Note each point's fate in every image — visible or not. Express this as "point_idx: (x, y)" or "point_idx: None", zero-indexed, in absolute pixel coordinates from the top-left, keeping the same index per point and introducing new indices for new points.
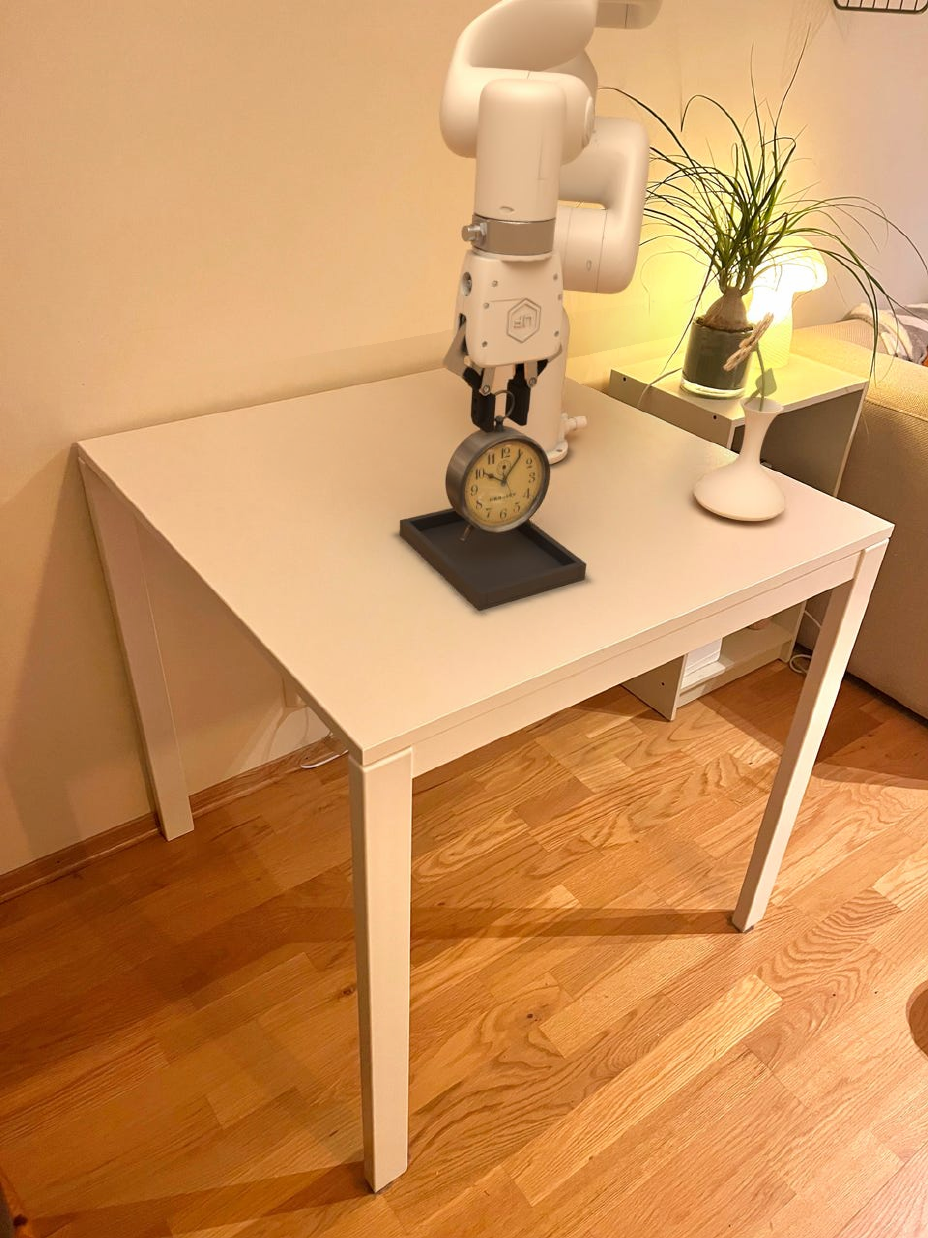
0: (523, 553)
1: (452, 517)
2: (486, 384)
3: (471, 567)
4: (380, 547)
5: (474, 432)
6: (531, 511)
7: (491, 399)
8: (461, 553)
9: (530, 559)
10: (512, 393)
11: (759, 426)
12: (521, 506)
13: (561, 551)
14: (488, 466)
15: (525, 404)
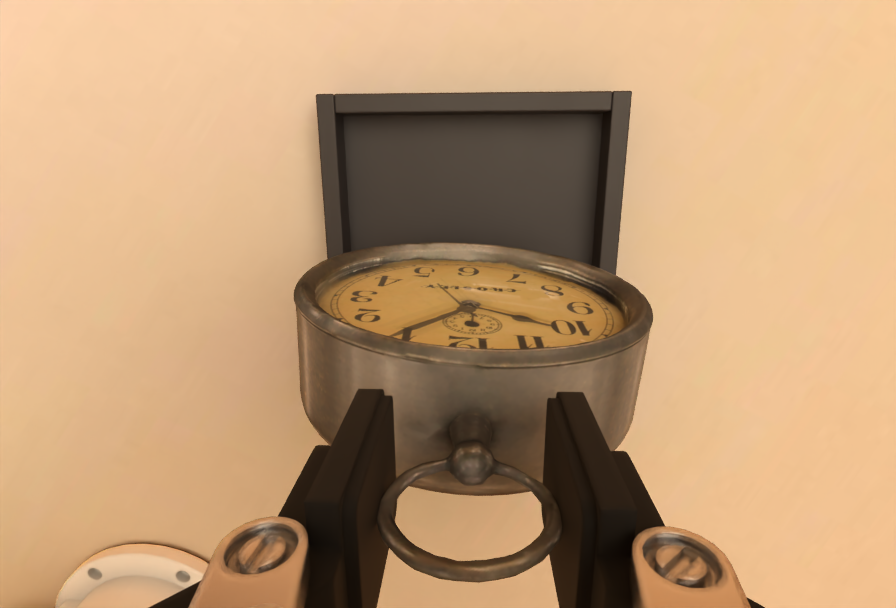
0: None
1: None
2: (701, 591)
3: (539, 250)
4: (653, 411)
5: None
6: (386, 251)
7: (623, 491)
8: None
9: (401, 219)
10: (373, 561)
11: None
12: (409, 270)
13: (339, 177)
14: (538, 333)
15: (354, 443)
